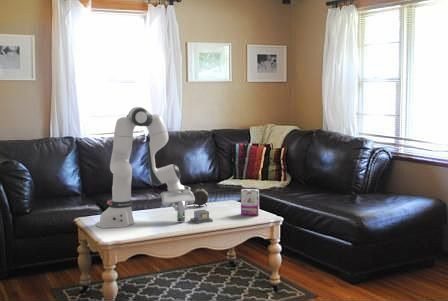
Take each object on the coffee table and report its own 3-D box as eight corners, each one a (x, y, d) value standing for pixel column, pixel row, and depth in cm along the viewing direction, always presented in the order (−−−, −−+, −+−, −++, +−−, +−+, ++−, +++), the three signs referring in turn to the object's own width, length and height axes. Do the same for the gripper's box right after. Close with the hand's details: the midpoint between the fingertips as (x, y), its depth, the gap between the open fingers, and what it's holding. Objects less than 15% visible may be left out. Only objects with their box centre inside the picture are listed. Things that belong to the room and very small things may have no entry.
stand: (196, 223, 331) (196, 213, 330) (190, 220, 339) (190, 210, 339) (212, 221, 336) (212, 211, 335) (206, 218, 344) (206, 208, 343)
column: (178, 222, 331) (178, 202, 330) (175, 220, 335) (176, 200, 334) (186, 221, 333) (186, 201, 332) (183, 219, 337) (183, 200, 336)
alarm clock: (208, 205, 380) (208, 182, 378) (207, 207, 375) (207, 183, 373) (193, 205, 381) (192, 182, 379) (191, 207, 376) (191, 183, 374)
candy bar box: (259, 214, 354) (259, 189, 352) (258, 216, 349) (258, 190, 347) (242, 213, 356) (242, 188, 354) (240, 215, 352) (240, 189, 350)
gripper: (160, 189, 334) (166, 208, 326) (192, 186, 342) (198, 205, 335) (158, 195, 338) (163, 214, 330) (189, 192, 347) (195, 211, 339)
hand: (181, 209), depth 333 cm, fingers closed on column, 4 cm apart
